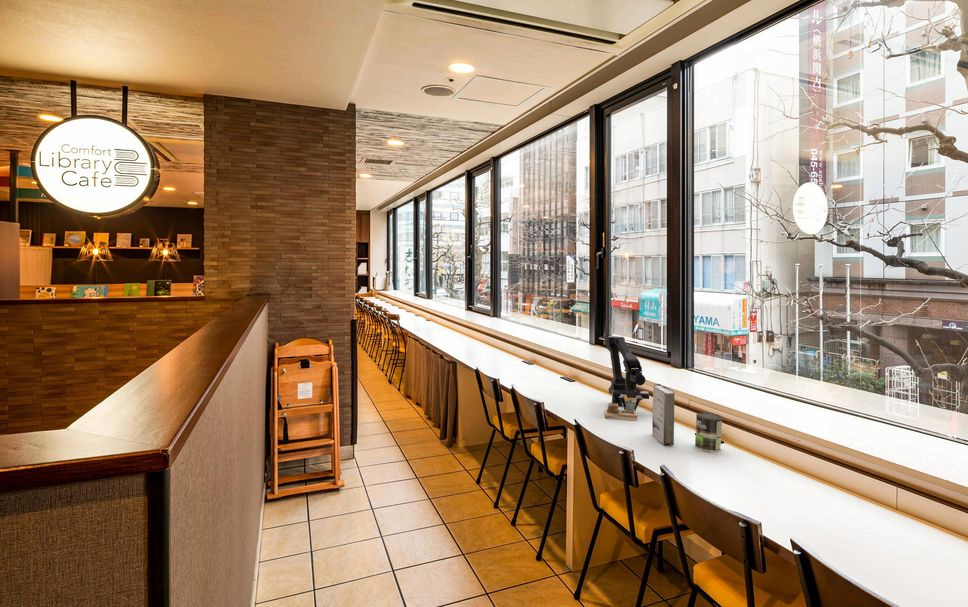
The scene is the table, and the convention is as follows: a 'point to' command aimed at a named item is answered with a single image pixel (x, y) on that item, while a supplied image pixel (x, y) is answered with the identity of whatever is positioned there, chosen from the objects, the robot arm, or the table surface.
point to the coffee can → (708, 432)
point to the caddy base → (621, 415)
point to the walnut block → (613, 408)
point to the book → (663, 414)
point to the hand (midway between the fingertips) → (629, 410)
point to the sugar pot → (630, 405)
